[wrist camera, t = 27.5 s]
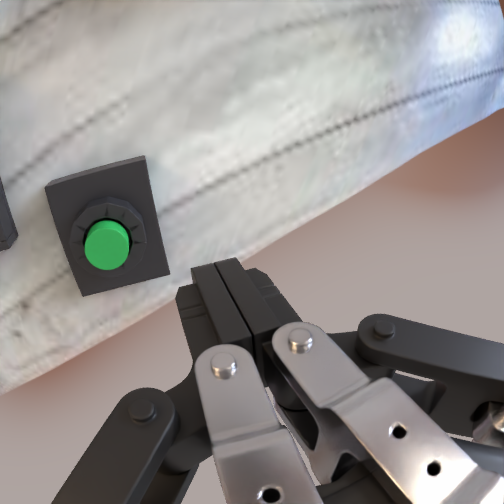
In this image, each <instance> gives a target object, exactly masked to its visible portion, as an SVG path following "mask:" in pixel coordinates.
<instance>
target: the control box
mask: <svg viewBox="0 0 504 504" xmlns="http://www.w3.org/2000/svg"><path fill="white" fill-rule="evenodd" d="M45 191H46V195H47V198H48V202H49V205H50V209H51V212H52V215H53V218H54V222H55V225H56V228H57V231H58V234H59V237H60V240H61V243H62V245H63V248H64V251H65V254H66V256H67V259H68V262H69V264H70V267H71V270H72V272H73V275H74V277H75V280H76V282H77V284H78V287H79V289H80V292H81V294H82V296H83V297H84V296H88V295H92V294H96V293H100V292H104V291H108V290H111V289H115V288H119V287H123V286H127V285H131V284H135V283H139V282H143V281H147V280H150V279H154V278H158V277H162V276H166V275H170V270H169V266H168V262H167V258H166V254H165V250H164V246H163V242H162V237H161V233H160V228H159V224H158V219H157V215H156V210H155V205H154V201H153V196H152V191H151V185H150V180H149V175H148V170H147V164H146V159H145V156H140V157H135V158H131V159H127V160H123V161H119V162H115V163H111V164H107V165H104V166H100V167H96V168H93V169H89V170H86V171H82V172H79V173H75V174H72V175H69V176H65V177H62V178H59V179H56V180H53V181H50V182H49V184H48V185H47V186H46V187H45ZM103 220H111V221H115V222H117V223H119V224H120V225H122V226H123V227H124V229H125V230H126V232H127V234H128V238H129V252H128V256H127V258H126V260H125V262H124V263H123V264H122V265H120V266H119V267H117V268H115V269H111V270H103V269H99V268H97V267H95V266H94V265H92V264H91V263H90V262H89V260H88V259H87V257H86V255H85V242H86V238H87V235H88V232H89V230H90V228H91V227H92V226H93V225H94V224H96V223H98V222H100V221H103Z"/></svg>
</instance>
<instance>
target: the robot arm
mask: <svg viewBox="0 0 504 504" xmlns="http://www.w3.org/2000/svg"><path fill="white" fill-rule="evenodd" d="M191 275H192V280H193V284H190V285H186V286H182V287H179V289H178V292H177V295H176V298H175V299H176V303H177V307H178V311H179V314H180V318H181V322H182V326H183V329H184V333H185V336H186V339H187V343H188V346H189V349H190V353H191V355H192V359H193V365H192V369H191V371H190V373H189V375H188V376H187V377H186V378H185V379H184V380H183V381H182V382H181V383H180V384H178V385H177V386H175V387H174V388H172V389H170V390H168V391H166V392H165V393H164V392H163V391H161V390H158V389H155V388H140V389H136V390H133V391H131V392H129V393H128V394H126V395H125V396H124V397H123V398H122V399H121V400H120V401H119V403H118V404H117V405H116V407H115V408H114V410H113V411H112V413H111V414H110V416H109V417H108V419H107V420H106V422H105V423H104V424H103V426H102V427H101V429H100V430H99V432H98V433H97V435H96V436H95V438H94V439H93V441H92V442H91V444H90V445H89V447H88V448H87V450H86V451H85V453H84V454H83V456H82V457H81V459H80V460H79V462H78V463H77V465H76V466H75V468H74V469H73V471H72V472H71V474H70V476H69V477H68V478H67V480H66V482H65V483H64V484H63V486H62V488H61V489H60V491H59V492H58V494H57V495H56V497H55V498H54V500H53V501H52V503H51V504H181V502H182V500H183V498H184V496H185V494H186V492H187V490H188V488H189V485H190V484H191V482H192V479H193V477H194V475H195V473H196V471H197V469H198V467H199V463H201V462H202V461H204V460H205V459H207V458H208V457H210V456H212V455H213V458H214V462H215V465H216V469H217V472H218V476H219V479H220V483H221V486H222V490H223V493H224V496H225V500H226V503H227V504H504V344H502V343H498V342H494V341H490V340H486V339H481V338H477V337H473V336H469V335H465V334H461V333H457V332H453V331H449V330H445V329H441V328H437V327H433V326H429V325H425V324H422V323H418V322H413V321H410V320H406V319H402V318H398V317H395V316H391V315H386V314H373V315H370V316H367V317H366V318H364V319H363V320H362V321H361V322H360V324H359V326H358V330H357V331H353V332H346V333H335V334H329V333H325V332H324V331H323V330H322V329H321V328H320V327H318V326H316V325H314V324H311V323H307V322H303V321H302V320H301V318H300V317H299V316H298V315H297V313H296V312H295V311H294V309H293V308H292V307H291V305H290V304H289V303H288V302H287V300H286V299H285V298H284V296H283V295H282V294H280V291H279V290H278V288H277V287H276V286H274V283H273V282H272V281H271V279H270V278H269V277H268V275H267V274H265V273H263V272H261V271H259V270H258V269H256V268H252V269H249V270H244V268H243V267H242V265H241V264H240V262H239V261H238V259H237V258H236V257H235V258H230V259H226V260H222V261H218V262H214V264H213V263H210V264H206V265H202V266H198V267H194V268H191ZM396 370H399V371H402V372H406V373H410V374H414V375H417V376H421V377H425V378H429V379H433V380H434V381H423V380H419V379H415V378H411V377H408V376H404V375H400V374H397V373H395V371H396ZM265 387H269V388H270V390H271V392H272V394H273V402H274V407H275V409H276V411H277V412H278V413H279V415H280V417H281V418H282V420H283V421H284V423H285V424H286V426H287V427H288V429H289V430H290V431H289V430H288V429H287V427H286V426H285V425H281V423H280V422H279V420H278V418H277V415H276V413H275V411H274V408H273V406H272V404H271V401H270V399H269V396H268V394H267V392H266V390H265ZM290 432H291V433H292V434H293V436H294V437H295V439H296V440H297V442H298V443H299V445H300V446H301V448H302V449H303V451H304V452H305V454H306V455H307V457H308V459H309V462H310V465H311V468H312V471H313V473H314V475H315V476H316V478H317V480H318V481H319V482H320V484H321V485H319V486H315V484H314V483H313V480H312V478H311V476H310V474H309V472H308V470H307V468H306V466H305V463H304V461H303V459H302V457H301V454H300V452H299V450H298V448H297V446H296V444H295V442H294V439H293V437H292V435H291V434H290ZM445 432H446V433H451V434H456V435H461V436H466V437H471V438H473V440H472V442H470V441H466V440H461V439H457V438H453V437H449V436H448V435H447V434H446V433H445Z"/></svg>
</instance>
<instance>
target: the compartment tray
mask: <svg viewBox="0 0 504 504" xmlns="http://www.w3.org/2000/svg"><path fill="white" fill-rule="evenodd" d="M17 237H18V233H17V230H16V227H15V224H14V221H13V218H12V215H11V212H10V209H9V206H8V203H7V199H6V196H5V193H4V189H3V185H2V182H1V178H0V251H3V250H6V249H9V248H10V247H11V246H12V244H13V243H14V241H15V240H16V238H17Z"/></svg>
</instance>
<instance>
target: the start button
mask: <svg viewBox="0 0 504 504" xmlns="http://www.w3.org/2000/svg"><path fill="white" fill-rule="evenodd" d="M128 252H129V238H128V234H127V232H126V230H125V229H124V227H123V226H122V225H120V224H119V223H117V222H115V221H111V220H103V221H100V222H98V223H96V224H94V225H93V226H92V227H91V228H90V230H89V232H88V235H87V238H86V242H85V255H86V257H87V259H88V260H89V262H90V263H91V264H92V265H94V266H95V267H97V268H99V269H103V270H111V269H115V268H117V267H119V266H120V265H122V264H123V263H124V262H125V260H126V258H127V256H128Z"/></svg>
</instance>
